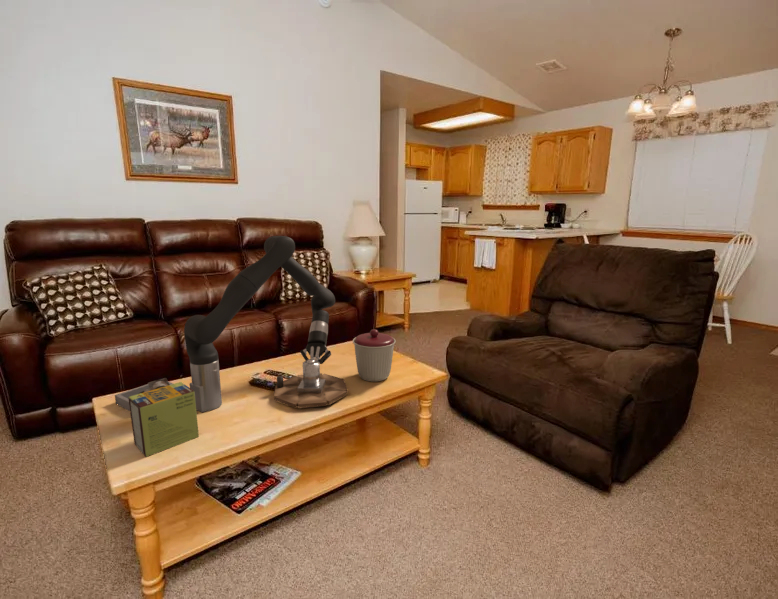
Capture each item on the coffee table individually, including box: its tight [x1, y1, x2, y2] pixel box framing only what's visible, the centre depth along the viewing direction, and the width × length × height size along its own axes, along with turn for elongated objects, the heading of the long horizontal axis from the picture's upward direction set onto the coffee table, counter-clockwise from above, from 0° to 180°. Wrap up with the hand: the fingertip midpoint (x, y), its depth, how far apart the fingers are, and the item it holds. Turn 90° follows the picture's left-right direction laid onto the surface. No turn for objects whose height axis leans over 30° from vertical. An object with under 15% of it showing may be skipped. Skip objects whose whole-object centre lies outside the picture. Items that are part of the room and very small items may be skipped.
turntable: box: [273, 372, 349, 409], centre depth 160 cm, size 27×27×5 cm
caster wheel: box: [139, 377, 169, 394], centre depth 151 cm, size 7×11×10 cm
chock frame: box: [114, 381, 174, 412], centre depth 153 cm, size 17×15×4 cm
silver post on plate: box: [297, 358, 326, 393], centre depth 159 cm, size 9×9×11 cm
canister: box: [352, 328, 397, 382], centre depth 175 cm, size 18×18×21 cm
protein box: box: [128, 381, 200, 458], centre depth 126 cm, size 10×15×16 cm
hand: (312, 373), depth 163 cm, fingers closed
